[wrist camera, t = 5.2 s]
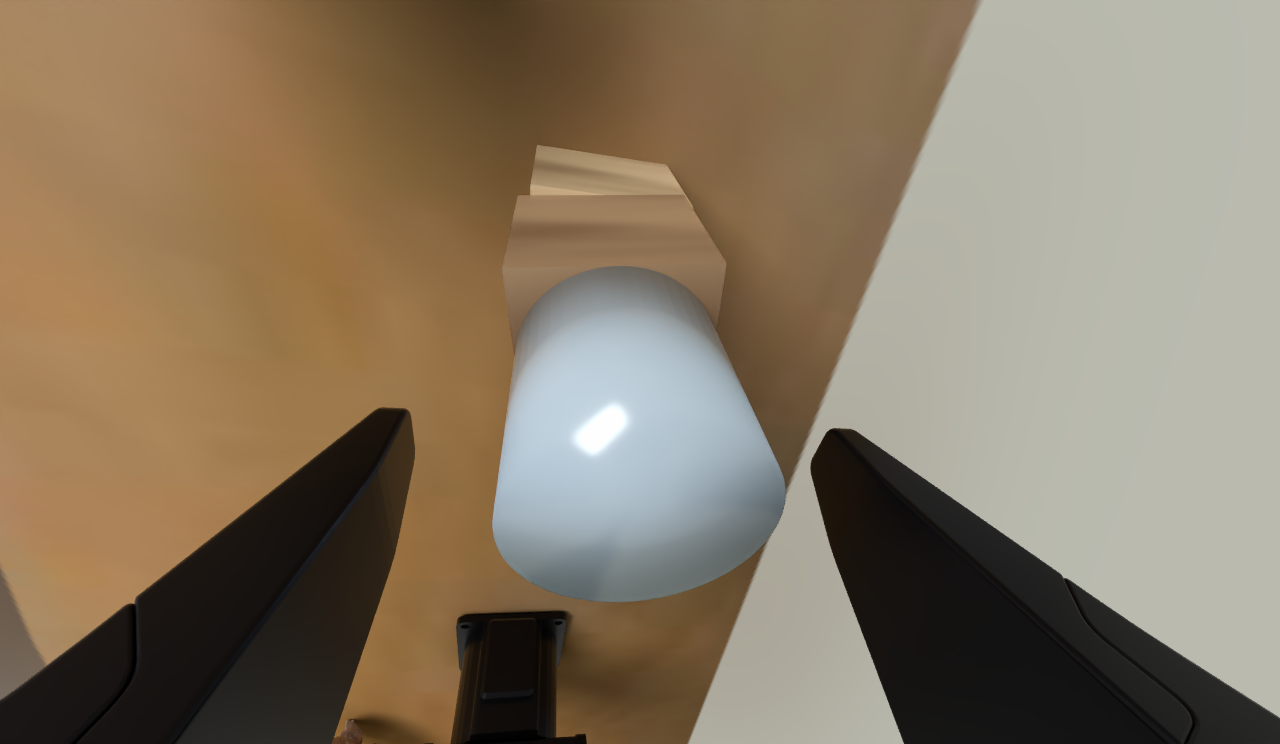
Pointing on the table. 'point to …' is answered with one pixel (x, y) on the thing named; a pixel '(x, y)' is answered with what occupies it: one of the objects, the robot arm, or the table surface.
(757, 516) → the pale blue rounded blob
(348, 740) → the brown wrinkled rounded piece
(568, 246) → the tower top
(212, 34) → the table surface
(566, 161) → the tower base
